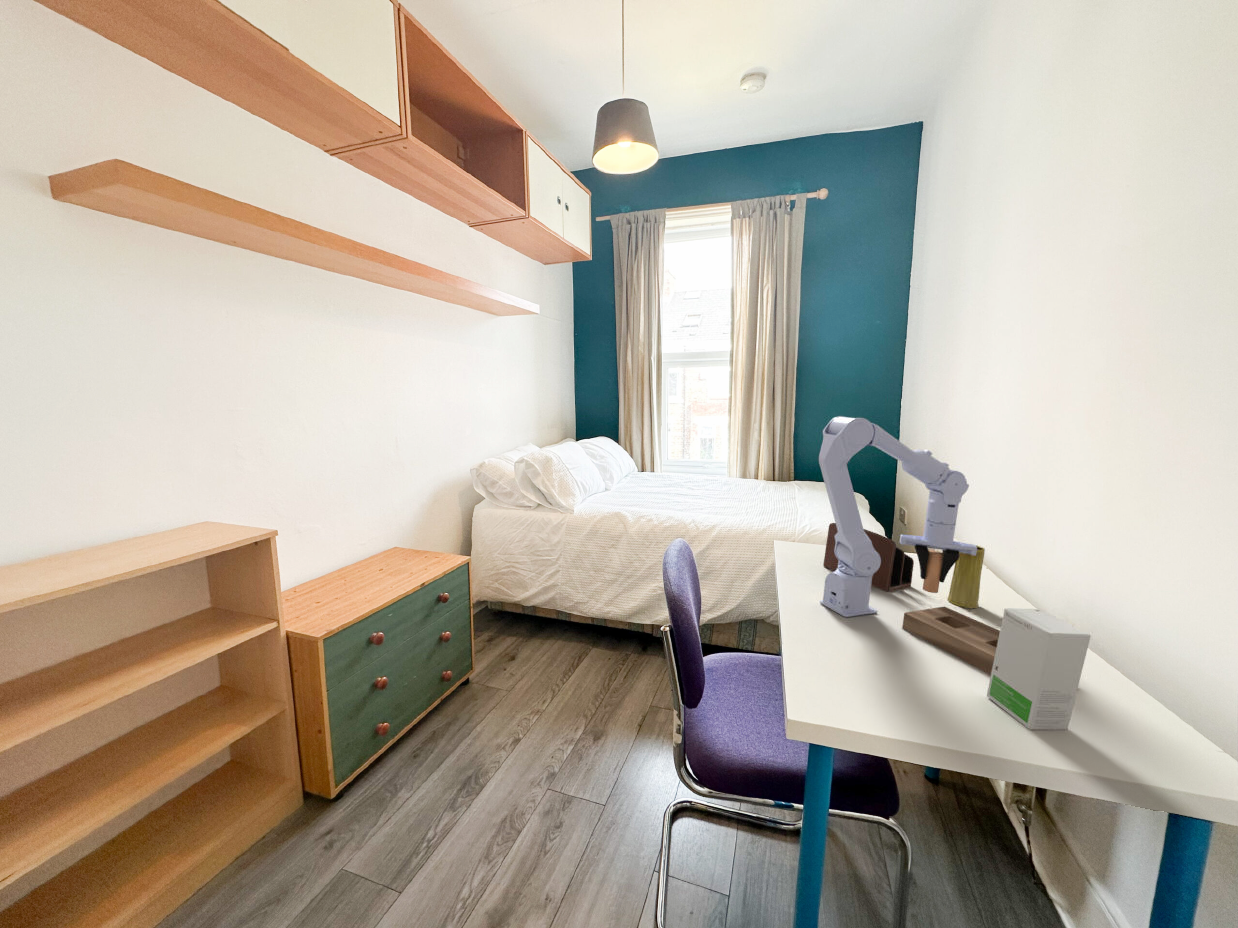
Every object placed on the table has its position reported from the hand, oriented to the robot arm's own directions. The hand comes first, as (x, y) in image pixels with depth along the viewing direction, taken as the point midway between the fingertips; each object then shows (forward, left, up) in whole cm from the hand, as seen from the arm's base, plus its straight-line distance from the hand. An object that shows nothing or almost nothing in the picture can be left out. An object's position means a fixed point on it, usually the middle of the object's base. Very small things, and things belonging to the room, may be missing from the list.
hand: (931, 579), depth 111 cm
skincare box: (-20, -32, -8) cm, 39 cm away
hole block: (-8, -16, -8) cm, 19 cm away
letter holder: (+4, +21, -8) cm, 23 cm away
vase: (+13, +1, -8) cm, 15 cm away
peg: (0, 0, -3) cm, 3 cm away
